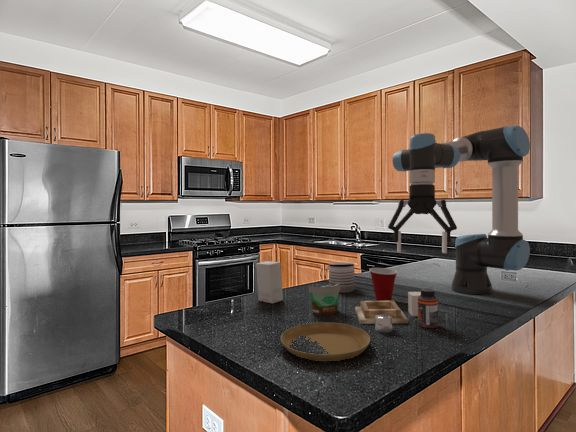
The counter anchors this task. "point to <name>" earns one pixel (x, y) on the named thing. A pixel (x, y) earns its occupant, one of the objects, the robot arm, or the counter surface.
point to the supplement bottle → (428, 308)
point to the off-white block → (413, 303)
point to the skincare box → (269, 281)
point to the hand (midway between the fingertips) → (421, 252)
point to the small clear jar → (383, 323)
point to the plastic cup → (383, 283)
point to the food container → (325, 299)
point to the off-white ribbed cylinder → (342, 276)
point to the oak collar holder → (379, 311)
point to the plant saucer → (328, 340)
